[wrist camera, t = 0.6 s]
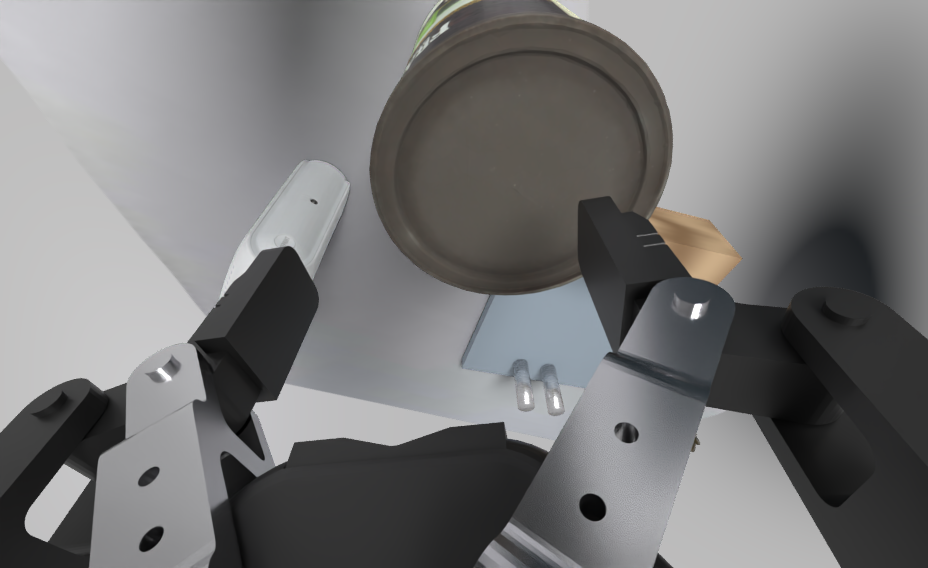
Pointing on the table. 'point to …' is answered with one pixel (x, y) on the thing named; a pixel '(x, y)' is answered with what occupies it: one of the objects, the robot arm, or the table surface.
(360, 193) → the table surface
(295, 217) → the photo printer
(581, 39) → the coffee can
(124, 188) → the table surface
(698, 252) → the flange bar
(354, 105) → the table surface
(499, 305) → the base board
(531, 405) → the dowel pins
